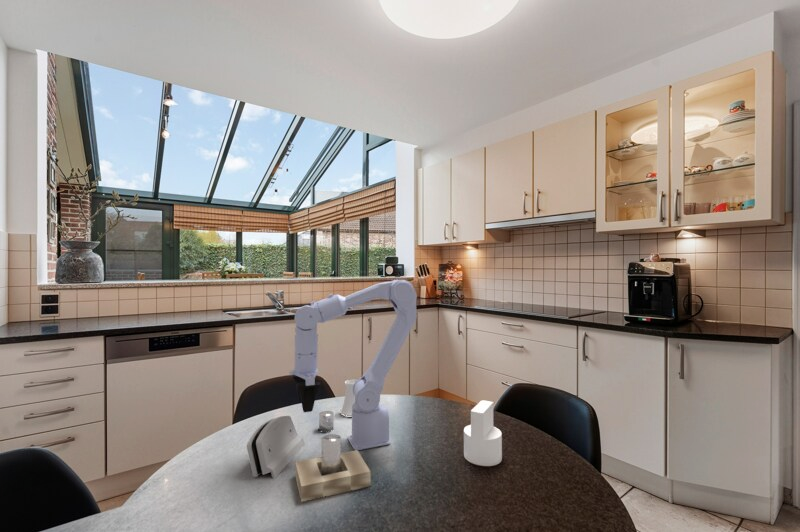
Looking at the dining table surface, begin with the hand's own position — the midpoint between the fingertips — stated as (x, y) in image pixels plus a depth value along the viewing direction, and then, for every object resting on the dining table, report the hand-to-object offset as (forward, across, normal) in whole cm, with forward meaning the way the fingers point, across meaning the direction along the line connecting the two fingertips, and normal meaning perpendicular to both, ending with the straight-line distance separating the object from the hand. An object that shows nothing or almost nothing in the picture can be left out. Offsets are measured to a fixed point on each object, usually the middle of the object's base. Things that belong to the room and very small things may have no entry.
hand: (305, 406), depth 92 cm
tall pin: (+10, +18, +3) cm, 21 cm away
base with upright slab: (+10, +21, +39) cm, 46 cm away
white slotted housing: (+11, +3, -7) cm, 13 cm away
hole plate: (+10, +18, +3) cm, 21 cm away
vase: (+11, -18, +17) cm, 27 cm away
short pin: (+10, -9, +7) cm, 16 cm away
